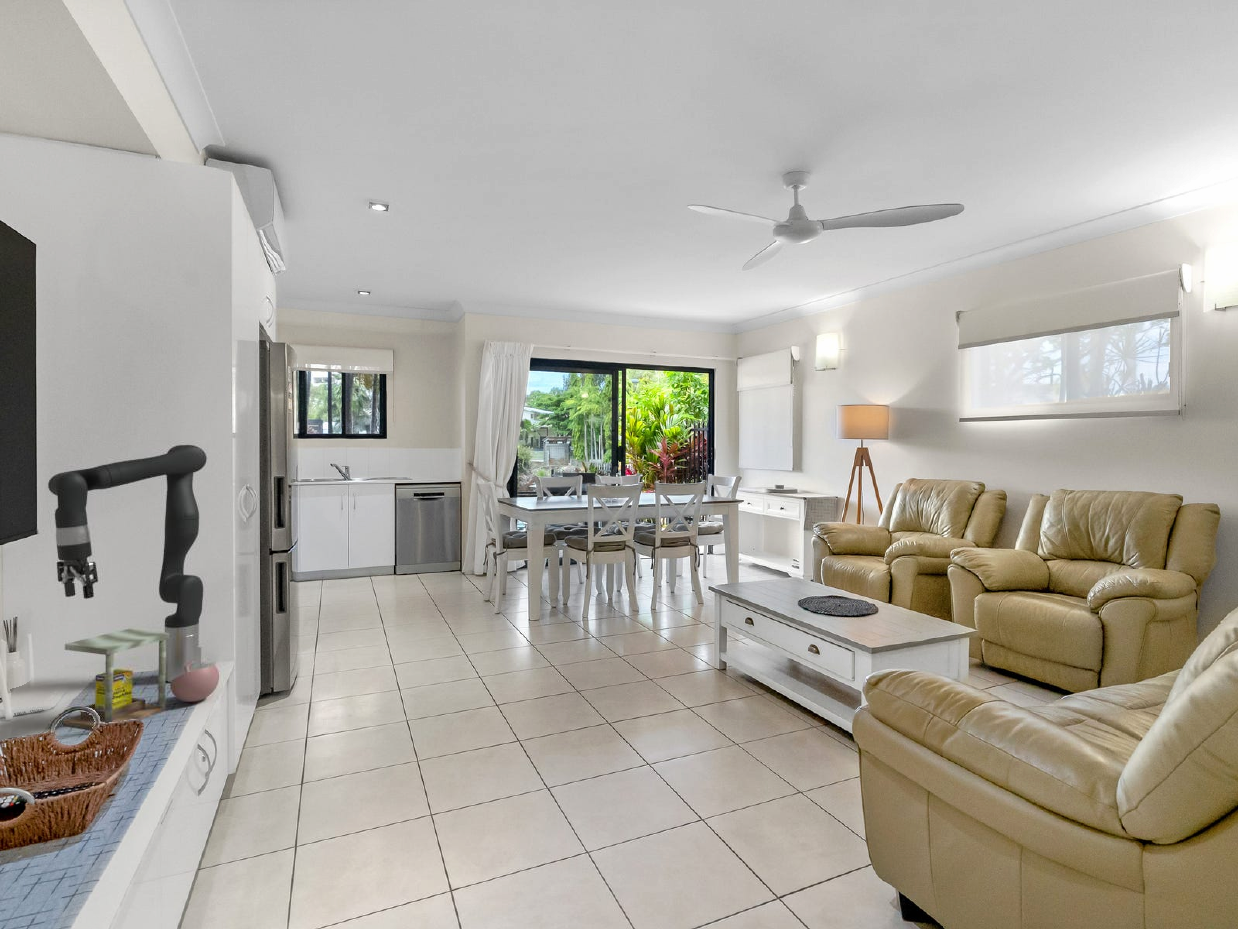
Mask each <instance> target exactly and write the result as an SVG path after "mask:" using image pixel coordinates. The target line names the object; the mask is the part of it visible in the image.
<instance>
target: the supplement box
mask: <svg viewBox="0 0 1238 929" xmlns="http://www.w3.org/2000/svg"><path fill="white" fill-rule="evenodd" d="M133 676H134V675H133V670H129V669H121V668H116V669H113V709H116V708H119V707H122V706H124V705H127V704H130V703H132V698H133ZM94 688H95V689H94V690H95V693H94V694H95V696H94V704H95V708H96V709H102V710H105V672H103V673H100V674H99V673H98V674H96V675H95V687H94Z"/></svg>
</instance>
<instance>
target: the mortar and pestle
mask: <svg viewBox="0 0 1238 929" xmlns="http://www.w3.org/2000/svg"><path fill="white" fill-rule="evenodd" d="M193 664H194V661H191V662H190V663H189V664H187V665H185V666H184V670H185V674H182V675H180V676H178V677H176V678H174V679H172V680H171V682H169V687H170V691H171V692H172V694H173V696H174V697H175V698H177V699H178V700H180V701H182V702H186V703H195V702H196V703H197V702H199V701H203V700H205V699H206V698H208V697H209V696H210V695H211V694H213V693H214V691H215V690H216V689H217V687H218V684H219V681H220V673H219V672H220V671H219V670H218V667H217V666H216V665H208V666H204V667H201V668H198V669H197V670H194V671H191V672H190V670H189V668H190V667H191V666H192V665H193Z"/></svg>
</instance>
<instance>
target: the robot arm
mask: <svg viewBox="0 0 1238 929" xmlns="http://www.w3.org/2000/svg"><path fill="white" fill-rule="evenodd" d="M207 459H208V458H207V454H206V453H205V451H204V450H203V448H201V447H199V446H197V445H194V444H193V445H192V444H180V445H179V444H178V445H175V446H172V447H171V448H169V449H168V451H167V452H166V453H163V454H160V455H156V456H150V457H144V458H135V459H129V460H123V461H121V460H120V461H117V462H111V463H107V464H101V465H98V466H94V467H91V468H84V469H77V470H70V471H64V472H63V471H62V472H59V473H56V474H55V475H53V476H52V477H51V478H50V479H49V481H48V483H47V485H48V486H47V488H48V490H49V491H50V493H51V494H53V495H55V496H57V508H56V509H55V510H54V523H55V540H56V542H55V543H56V550H57V552H56V553H57V559H58V560H59V561H57V562H56V570H57V571H56V573H57V581H58V582H59V583H61V584H62V585H64V595H65V597H66V598H70V597H74V596H76V586H75V579H76V580H77V581H80V583H81V585H82V594H83V599H86V600H87V599H92V598H94V584H95V583H98V581H99V577H98V571H97V563H96V561H90V562H89V561H88V558H90V557H91V556H92V555H93V551H92V550H93V549H92V543H91V542H92V540H91V532H90V528H89V524H88V516H87V503H88V492H91V491H94V490H96V491H97V490H106V489H111V488H115V487H120V486H123V485H128V484H131V483H136V482H139V481H140V482H141V481H144V480H146V479H152V478H156V477H157V478H158V477H161V476H165V478H166V498H165V499H166V500H165V516H164V542H163V543H164V544H163V555H162V556H163V557H162V558H163V559H162V566H161V572H160V577H159V583H158V593H159V597H160V599H161V600H162V601H163V602H165V603H166V604H167V603H168V604H176V610H175V611H176V612H174V613H172V614H170V615H168V616H166V617H165V618H164V633H169V639H166V675H165V682H166V681H168V682H167V683H170V682H171V680H172V679H174V678H176V677H178V676H180V675H182V674H185V670H184V666H185V665H187V664H189V663H190V662H191V661H194V664H193V665H192V666H191V667H190V668H189V670H190V672H191V671H194V670H197V669H198V668H202V645H201V644H199V642H200V640H199V638H200V637H199V636H200V634H199V632H200V617H201V614H202V612H203V599H204V584H203V581H202V578H200V577H199V576H198V575H192V574H184V568H185V567H184V565H185V561H186V558H187V557H186V556H187V555H188V553H189V551H190V549H191V548H192V546H193V545H194V543H195V541H196V539H197V538H198V536H199V531H200V530H199V527H200V512H199V511H200V510H199V506H198V504H197V501H196V497H195V494H194V489H193V483H194V482H193V481H194V480H193V479H194V473H196V472H199V471H201V470H202V469H203V468H204V467H205V466H206V464H207V461H208V460H207Z"/></svg>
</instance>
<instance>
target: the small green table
mask: <svg viewBox="0 0 1238 929" xmlns="http://www.w3.org/2000/svg"><path fill="white" fill-rule="evenodd" d="M166 639H169V633H165V632H161V631H152V630H145V629H136V628H135V629H134V628H127V629H123V630H119V631H114V632H110V633H106V634H101V635H98V636H97V635H96V636H93V637H89V638H85V639H81V640H76V641H73V642H71V641H70V642H68V643H65V644H64V650H66V651H73V652H81V653H88V654H95V655H103V656H105V672H104V673H105V710H102V709H96V708H95V703H91V704H88V705H86V707H89V708H92V709H93V710H95V711H96V712H97V713H98V715H99V716H100V721H101V722H105V723H109V722H120V721H124V720H130V719H141V720H144V719H146V718H148V717H147V716H149V715H152V716H154V715H157V714H159V712H160V713H162V712H165V711H167V706H166V681H165V675H166ZM157 642H158V680H157V681H158V684H157V685H158V687H157V688H158V693H157V694H158V695H157V704H152V703H146V699H144V698H137V697H132V703H130V704H127V705H124V706H122V707H119V708H116V709H113V670H114V657H115V656H114V654H116V653H119V652H124V651H127V650H131V649H134V648H138V647H142V646H145V645H146V646H147V645H150V644H155V643H157ZM156 713H157V714H156ZM145 717H146V718H145ZM149 717H150V716H149ZM94 722H95V721H94V719H93V716H92V715H89V713H87V712H81V711H80V714H79V715H76V716H73V717H70V718H67V719H63V720H62V725H64V724H65V726H71V727H75V726H78V727H77V728H82V729H87V730H92V727H93V726H94Z"/></svg>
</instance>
